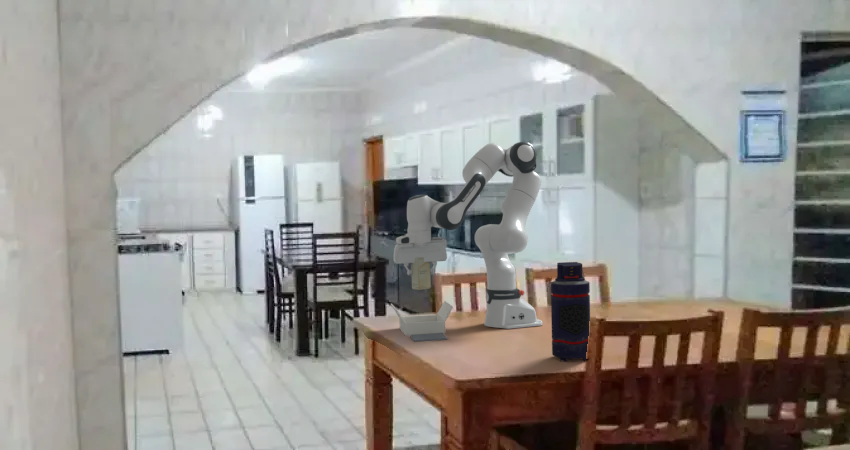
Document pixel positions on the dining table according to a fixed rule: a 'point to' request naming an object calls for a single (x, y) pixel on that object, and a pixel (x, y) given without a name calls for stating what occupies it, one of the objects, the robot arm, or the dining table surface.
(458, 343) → the dining table surface
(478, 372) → the dining table surface
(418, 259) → the skincare box
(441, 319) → the carton
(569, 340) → the dark blue bottle
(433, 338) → the mat
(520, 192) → the robot arm
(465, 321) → the dining table surface
